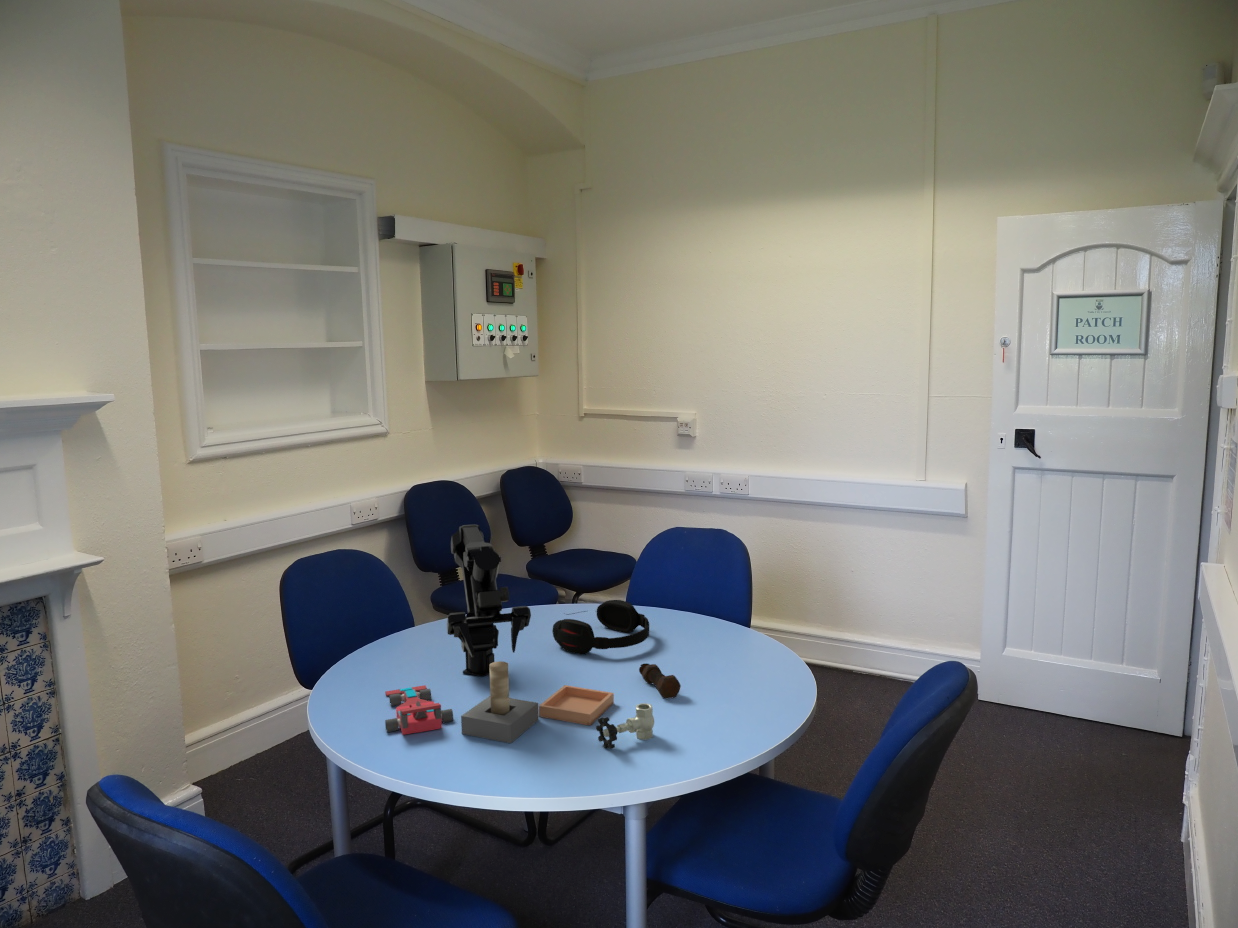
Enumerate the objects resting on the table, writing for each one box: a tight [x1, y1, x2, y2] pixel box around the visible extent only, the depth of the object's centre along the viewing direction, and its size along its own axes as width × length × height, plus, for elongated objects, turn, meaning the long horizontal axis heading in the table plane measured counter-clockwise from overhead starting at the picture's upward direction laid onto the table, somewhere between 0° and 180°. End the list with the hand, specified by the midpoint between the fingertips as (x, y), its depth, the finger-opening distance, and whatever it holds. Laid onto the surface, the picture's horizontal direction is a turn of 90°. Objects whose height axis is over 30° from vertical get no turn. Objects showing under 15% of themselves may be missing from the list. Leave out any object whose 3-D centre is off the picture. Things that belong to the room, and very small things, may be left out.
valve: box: [595, 702, 655, 750], centre depth 174 cm, size 7×7×12 cm
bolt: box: [638, 662, 682, 699], centre depth 202 cm, size 6×5×15 cm
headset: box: [551, 599, 650, 655], centre depth 236 cm, size 28×26×9 cm
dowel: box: [489, 661, 510, 715], centre depth 181 cm, size 4×4×14 cm
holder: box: [460, 695, 539, 744], centre depth 181 cm, size 12×12×4 cm
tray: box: [538, 684, 615, 726], centre depth 190 cm, size 13×13×2 cm
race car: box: [384, 685, 454, 736], centre depth 191 cm, size 14×6×25 cm
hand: (493, 653), depth 188 cm, fingers open, 9 cm apart
